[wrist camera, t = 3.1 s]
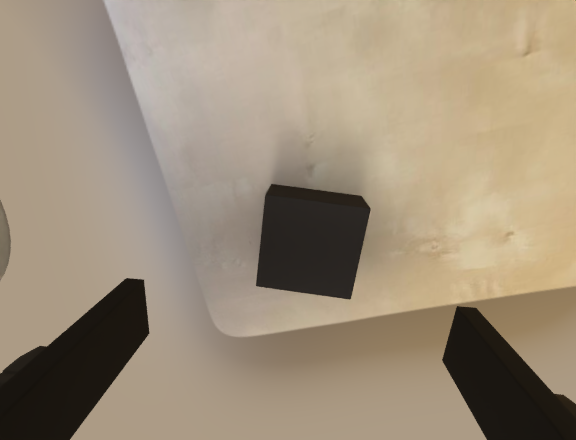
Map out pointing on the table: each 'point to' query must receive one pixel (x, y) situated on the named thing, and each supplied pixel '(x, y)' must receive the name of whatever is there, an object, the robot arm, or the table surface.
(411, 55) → the table surface
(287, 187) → the foam pad
